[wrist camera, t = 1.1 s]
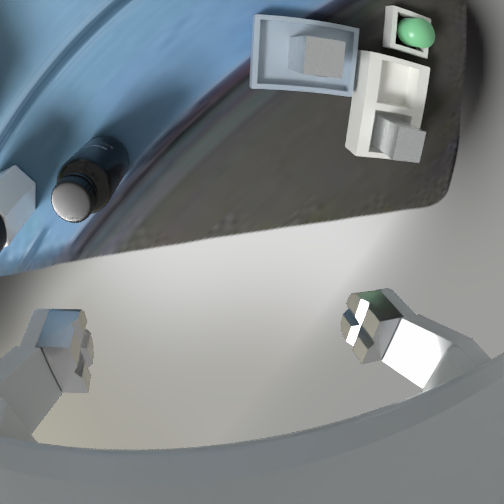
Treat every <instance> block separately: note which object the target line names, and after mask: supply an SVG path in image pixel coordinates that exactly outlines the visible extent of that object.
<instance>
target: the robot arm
mask: <svg viewBox="0 0 504 504" xmlns="http://www.w3.org/2000/svg"><path fill="white" fill-rule="evenodd" d="M346 304H347V306H348V308H349V309H348V310H347V311H346V312H345V313H344V314H343V316H342V320H341V332H342V335H343V337H344V338H345V340H346V341H347V342H349V343H350V344H352V345H353V352H354V354H355V355H356V357H357V358H358V360H359V361H360V363H361V364H365V363H370V362H374V361H379V360H382V361H383V362H384V363H386V364H387V365H389V366H390V367H392V368H393V369H394V370H396V371H398V372H399V373H400V374H402V375H403V376H405V377H406V378H408V379H409V380H411V381H412V382H414V383H415V384H417V385H418V386H419V387H421V388H423V389H422V391H421V392H420V393H419V394H417V395H414V396H412V397H409V398H407V399H404V400H401V401H399V402H396V403H393V404H391V405H388V406H385V407H382V408H379V409H376V410H374V411H370V412H367V413H364V414H361V415H358V416H354V417H351V418H348V419H344V420H341V421H337V422H334V423H330V424H326V425H322V426H318V427H314V428H310V429H306V430H302V431H297V432H292V433H288V434H283V435H278V436H273V437H267V438H261V439H256V440H250V441H244V442H236V443H229V444H221V445H211V446H201V447H191V448H175V449H154V450H153V449H149V450H118V449H117V450H116V449H93V448H79V447H67V446H58V445H50V444H42V443H38V442H37V441H36V440H35V438H34V437H33V436H32V435H31V434H32V433H33V432H34V430H35V429H36V427H37V426H38V425H39V424H40V422H41V421H42V419H43V418H44V417H45V416H46V414H47V413H48V412H49V410H50V409H51V408H52V406H53V405H54V404H55V403H56V401H57V400H58V399H59V397H60V396H61V395H62V392H66V393H67V392H68V393H88V392H89V385H90V378H91V374H90V372H89V369H88V367H89V366H91V365H92V364H93V357H94V352H93V341H92V337H91V333H90V332H89V331H88V330H87V329H86V324H87V319H86V316H85V312H84V311H83V310H79V309H36V310H35V311H34V313H33V315H32V317H31V320H30V322H29V324H28V327H27V329H26V332H25V334H24V336H23V339H22V341H21V344H20V346H15V347H14V348H12V349H11V350H10V351H9V352H7V353H6V354H5V355H4V356H2V357H1V358H0V504H504V353H502V354H500V355H498V356H497V357H495V358H493V359H490V357H489V356H488V355H487V354H486V353H485V352H484V351H483V350H482V349H481V348H480V347H479V346H478V344H477V343H476V342H475V341H474V340H473V339H472V338H470V337H467V336H465V335H463V334H461V333H459V332H457V331H454V330H452V329H450V328H448V327H446V326H444V325H441V324H439V323H437V322H435V321H432V320H430V319H428V318H426V317H424V316H422V315H416V314H415V313H414V312H413V311H412V310H411V309H410V308H409V307H408V306H407V305H406V304H405V303H404V302H403V301H402V299H400V298H399V296H398V295H397V294H396V293H395V292H394V291H393V290H391V289H389V288H385V289H379V290H375V291H367V292H360V293H352V294H351V295H350V296H349V297H348V300H347V303H346Z"/></svg>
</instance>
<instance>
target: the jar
mask: <svg viewBox="0 0 504 504" xmlns="http://www.w3.org/2000/svg"><path fill="white" fill-rule="evenodd" d="M35 195H36V183H35V182H34V181H33V180H32V179H30V178H29V177H28V176H27V175H26V174H25V173H24V172H23V171H22V170H21V169H19V168H18V167H17V166H16V165H14V166H12V167H10V168H8V169H6V170H4V171H2V172H0V252H1V250H2V249H3V247H6V246H8V245H9V244H10V243H11V241H12V240H13V238H14V237H15V236H16V234H17V233H18V232H19V230H20V229H21V228H22V226H23V225H24V224H25V222H26V221H27V220H28V219H29V217H30V216H31V215H32V214H33V212H34V211H35Z"/></svg>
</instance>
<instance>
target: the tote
mask: <svg viewBox="0 0 504 504" xmlns="http://www.w3.org/2000/svg"><path fill="white" fill-rule="evenodd" d="M298 36H313V37H320V38H326V39H332V40H338V41H344V42H346V45H345V55H344V66H343V75H342V79H339V78H332V77H320V76H314V75H306V74H301V73H298V72H295V71H292V70H288V69H287V62H288V47H289V37H298ZM358 40H359V28H354V27H350V26H345V25H340V24H334V23H329V22H323V21H316V20H310V19H302V18H294V17H285V16H274V15H261V14H255V15H253V24H252V44H251V65H250V87H251V88H252V89H277V90H292V91H305V92H316V93H325V94H334V95H342V96H349V97H352V95H353V87H354V79H355V70H356V61H357V51H358Z"/></svg>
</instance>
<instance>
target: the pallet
mask: <svg viewBox="0 0 504 504" xmlns="http://www.w3.org/2000/svg"><path fill="white" fill-rule="evenodd" d="M429 74H430V68H429V67H426V66H423V65H420V64H417V63H413V62H410V61H406V60H403V59H399V58H396V57H392V56H388V55H384V54H380V53H375V52H371V51H363V50H358V51H357V61H356V70H355V79H354V87H353V95H352V102H351V109H350V117H349V124H348V130H347V137H346V144H345V147H346V148H347V149H348V150H349V151H351V152H352V153H353V154H354V155H355V156H363V157H374V158H385V159H391V158H390V157H388V156H387V155H386V154H384V153H383V152H382V151H380V150H379V149H378V148H376V147H375V146H374V145H372V144H371V143H370V140H371V135H372V129H373V123H374V117H375V113H380V114H386V115H392V116H397V117H399V118H401V119H403V120H405V121H407V122H409V123H411V124H412V125H414V126H416V127H418V128H420V127H421V122H422V116H423V111H424V106H425V100H426V94H427V88H428V81H429Z"/></svg>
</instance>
